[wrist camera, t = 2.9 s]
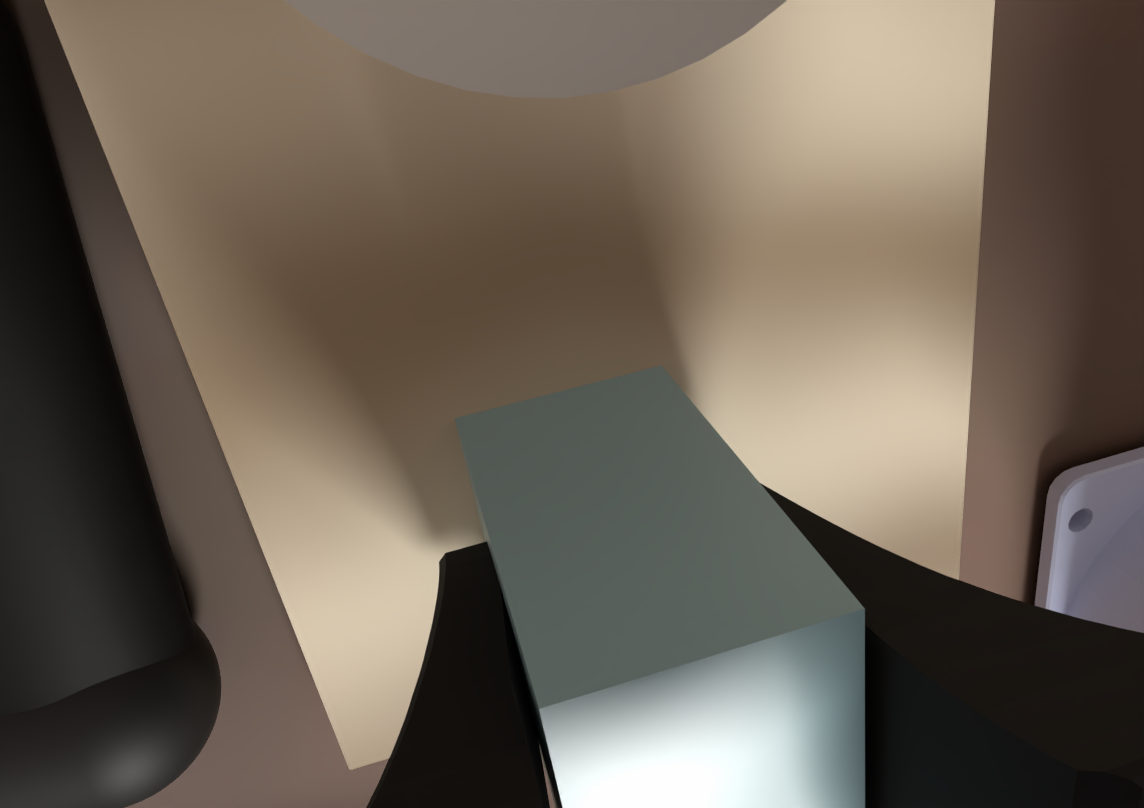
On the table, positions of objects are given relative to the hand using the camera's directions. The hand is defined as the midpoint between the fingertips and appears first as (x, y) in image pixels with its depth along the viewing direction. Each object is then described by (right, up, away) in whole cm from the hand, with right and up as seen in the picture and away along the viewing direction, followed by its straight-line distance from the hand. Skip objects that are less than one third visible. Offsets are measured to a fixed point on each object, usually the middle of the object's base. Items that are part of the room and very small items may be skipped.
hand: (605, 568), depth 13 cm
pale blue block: (0, +1, +1) cm, 1 cm away
